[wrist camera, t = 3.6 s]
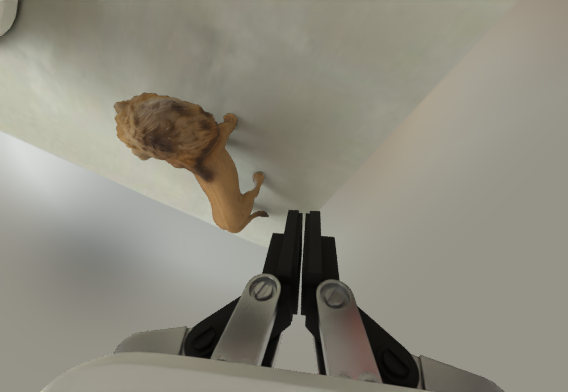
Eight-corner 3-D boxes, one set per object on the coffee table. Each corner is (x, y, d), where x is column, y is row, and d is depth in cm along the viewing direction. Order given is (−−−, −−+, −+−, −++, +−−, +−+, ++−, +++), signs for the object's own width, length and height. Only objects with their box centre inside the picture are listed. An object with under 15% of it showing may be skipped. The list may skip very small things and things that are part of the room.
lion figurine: (166, 101, 19) (72, 124, 12) (211, 70, 18) (134, 74, 10) (251, 220, 26) (225, 286, 18) (290, 205, 24) (280, 272, 16)
